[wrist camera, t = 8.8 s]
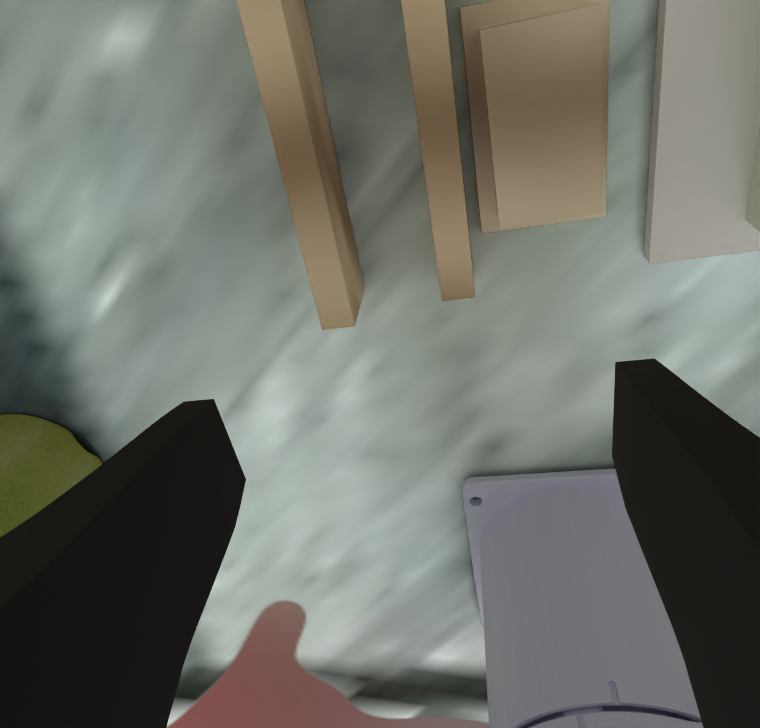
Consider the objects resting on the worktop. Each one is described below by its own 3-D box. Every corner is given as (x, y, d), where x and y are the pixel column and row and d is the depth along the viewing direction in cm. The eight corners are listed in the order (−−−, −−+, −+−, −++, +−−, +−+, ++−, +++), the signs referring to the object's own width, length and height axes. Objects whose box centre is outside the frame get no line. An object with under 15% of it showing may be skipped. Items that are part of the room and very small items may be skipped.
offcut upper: (595, 200, 17) (603, 212, 16) (497, 215, 18) (500, 228, 17) (592, 2, 15) (601, 3, 14) (478, 27, 15) (479, 30, 14)
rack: (473, 276, 19) (476, 312, 17) (335, 292, 20) (322, 329, 18) (438, -61, 15) (436, -67, 12) (260, -21, 15) (231, -21, 13)
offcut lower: (598, 205, 18) (605, 216, 17) (480, 221, 19) (481, 233, 18) (600, -23, 15) (609, -24, 14) (459, 6, 16) (460, 7, 15)
